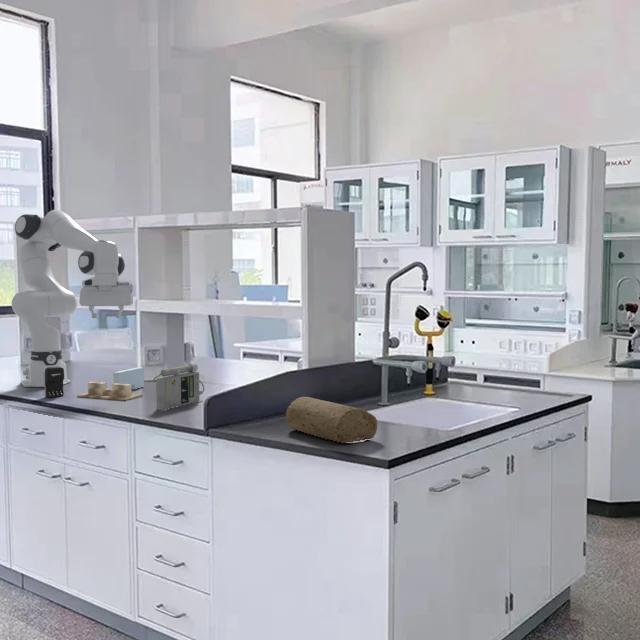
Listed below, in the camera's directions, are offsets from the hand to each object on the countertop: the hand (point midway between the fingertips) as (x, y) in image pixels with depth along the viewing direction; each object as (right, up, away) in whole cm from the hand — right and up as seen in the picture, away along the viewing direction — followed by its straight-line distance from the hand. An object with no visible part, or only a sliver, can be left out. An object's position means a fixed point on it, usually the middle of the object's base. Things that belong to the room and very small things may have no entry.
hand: (106, 318), depth 286 cm
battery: (-17, -30, -7) cm, 35 cm away
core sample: (+85, -34, -74) cm, 117 cm away
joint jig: (+3, -29, -8) cm, 31 cm away
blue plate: (+7, -28, +8) cm, 30 cm away
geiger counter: (+33, -31, -24) cm, 51 cm away
